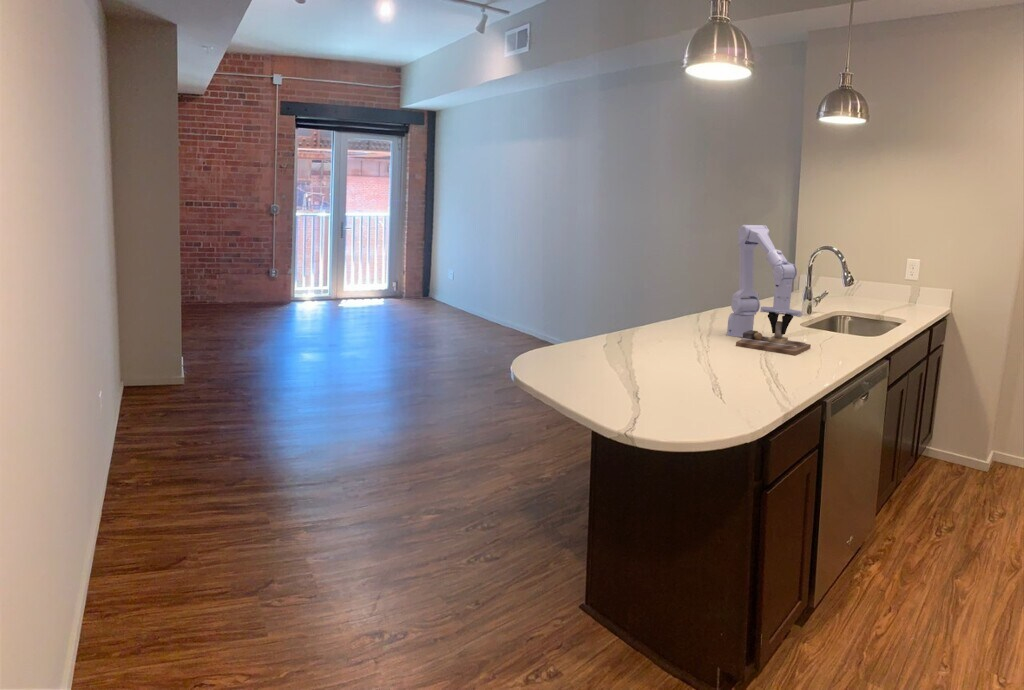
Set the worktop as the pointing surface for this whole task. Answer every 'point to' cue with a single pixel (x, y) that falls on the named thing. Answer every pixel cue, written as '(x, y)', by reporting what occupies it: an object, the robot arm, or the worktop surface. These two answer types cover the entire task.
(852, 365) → the worktop surface
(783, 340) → the press ram
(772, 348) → the board
